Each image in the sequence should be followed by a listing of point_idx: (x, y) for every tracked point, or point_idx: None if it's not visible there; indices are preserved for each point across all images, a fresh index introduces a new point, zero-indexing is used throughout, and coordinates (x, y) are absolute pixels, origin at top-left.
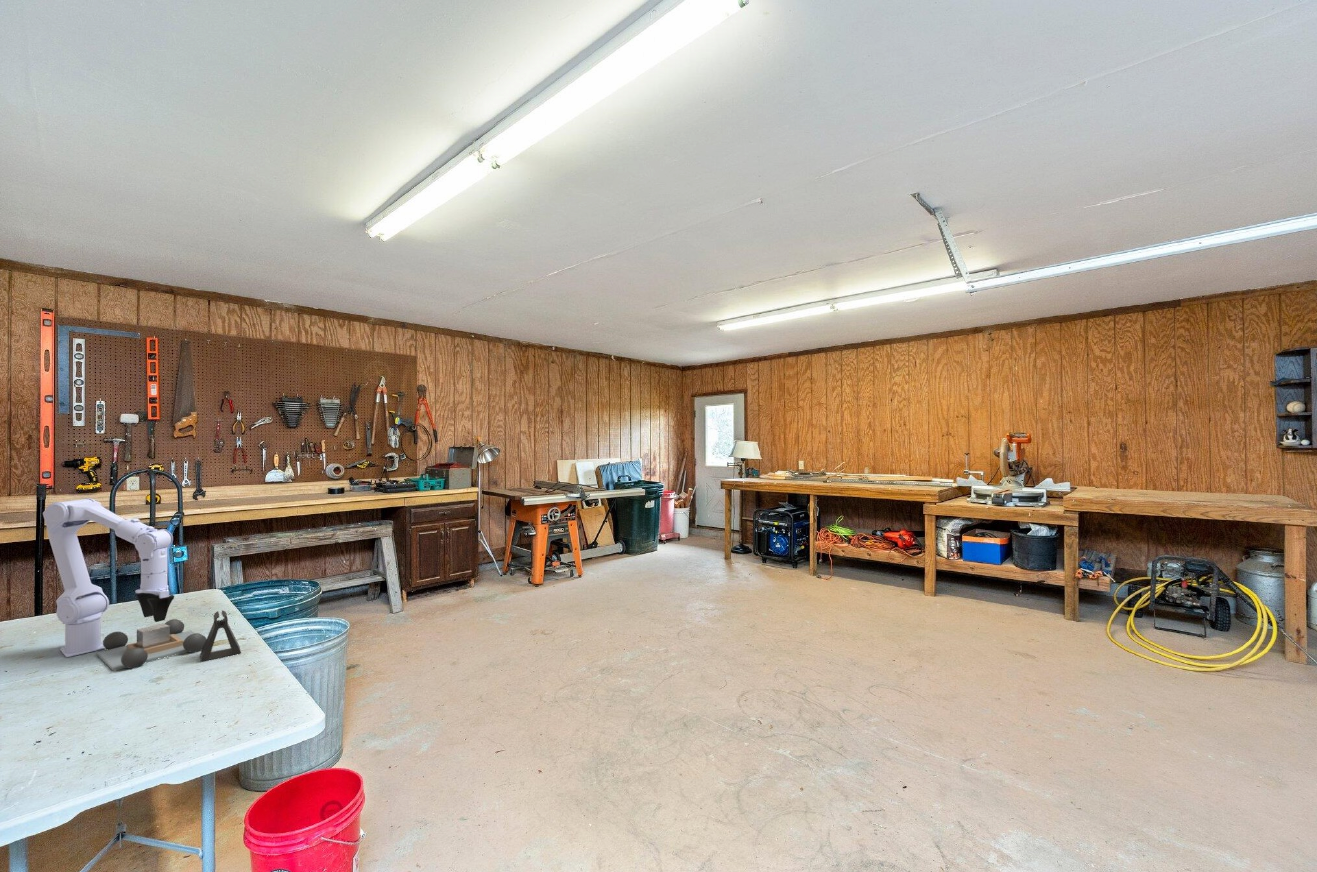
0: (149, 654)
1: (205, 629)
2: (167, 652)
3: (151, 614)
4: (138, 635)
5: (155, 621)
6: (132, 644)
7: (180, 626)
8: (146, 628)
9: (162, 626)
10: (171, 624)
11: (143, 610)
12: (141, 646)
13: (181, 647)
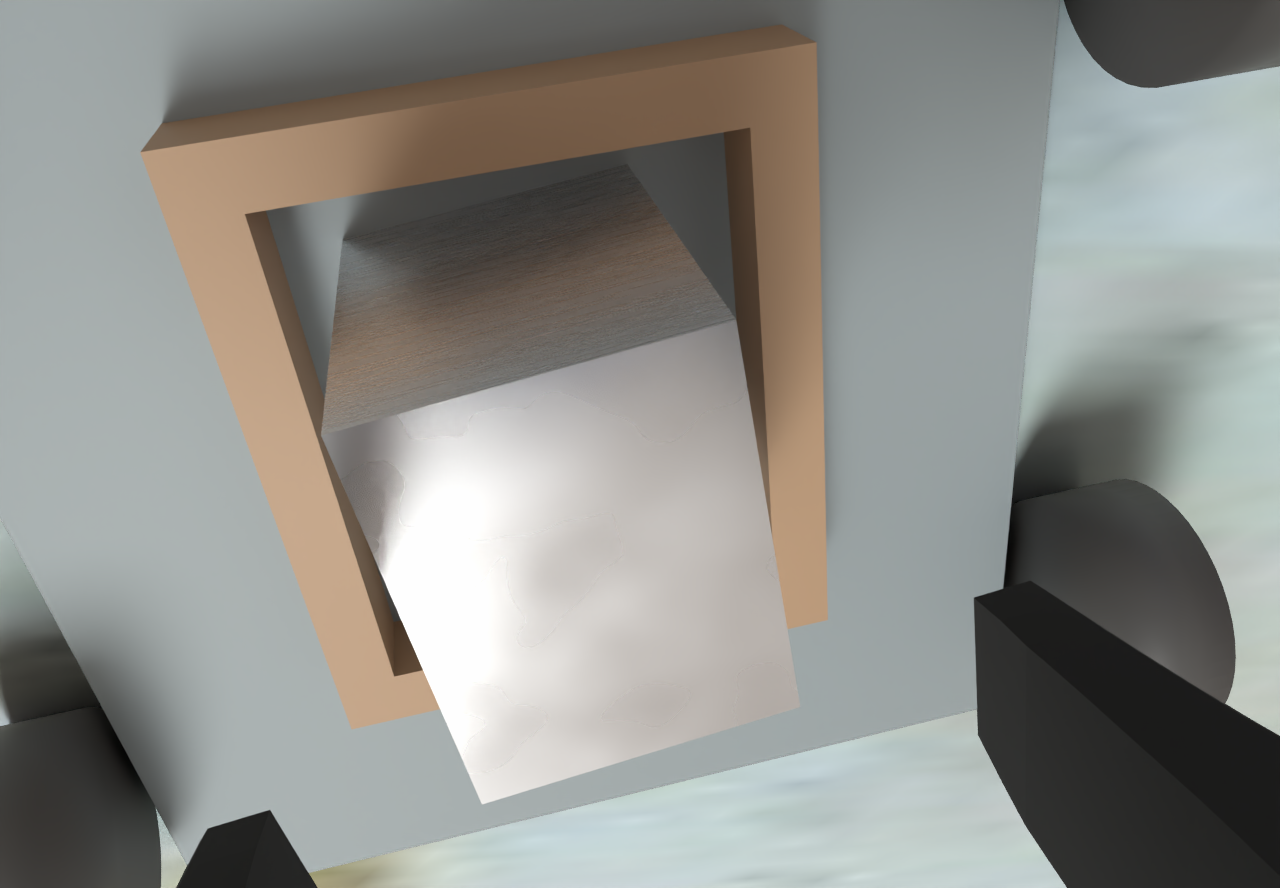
0: (192, 321)
1: (975, 785)
2: (124, 527)
3: (1003, 728)
4: (598, 298)
5: (203, 840)
6: (746, 133)
7: None
8: (651, 485)
9: (557, 712)
10: None
11: (1105, 732)
12: (409, 263)
13: (267, 660)
